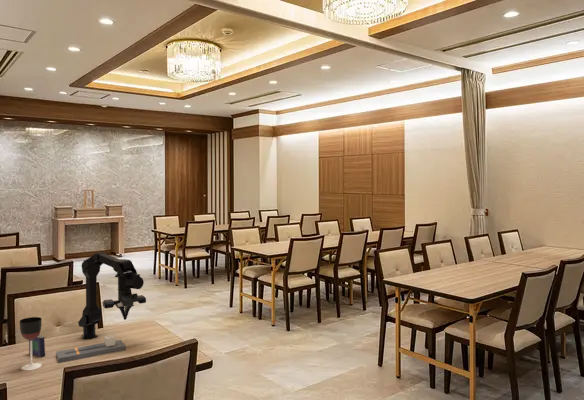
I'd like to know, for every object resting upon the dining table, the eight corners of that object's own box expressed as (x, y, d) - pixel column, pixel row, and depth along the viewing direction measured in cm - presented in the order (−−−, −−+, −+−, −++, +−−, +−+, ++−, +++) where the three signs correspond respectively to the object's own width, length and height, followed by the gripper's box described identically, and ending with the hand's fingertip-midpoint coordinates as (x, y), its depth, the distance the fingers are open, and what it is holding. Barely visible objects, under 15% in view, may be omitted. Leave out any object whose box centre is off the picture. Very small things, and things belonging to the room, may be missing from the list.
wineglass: (26, 372, 186) (25, 324, 185) (17, 367, 191) (15, 320, 191) (46, 366, 192) (45, 319, 192) (36, 361, 198) (35, 316, 197)
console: (56, 355, 204) (56, 351, 204) (120, 343, 219) (120, 339, 219) (58, 363, 196) (58, 358, 195) (125, 349, 211) (125, 345, 211)
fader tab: (104, 344, 212) (104, 336, 212) (113, 342, 215) (113, 334, 214) (106, 346, 209) (106, 339, 209) (115, 345, 211) (115, 337, 211)
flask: (27, 354, 206) (27, 331, 206) (33, 352, 208) (33, 329, 208) (41, 357, 202) (41, 334, 202) (47, 355, 205) (47, 332, 204)
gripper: (107, 292, 203) (107, 327, 203) (149, 287, 213) (149, 320, 213) (102, 288, 212) (102, 321, 213) (142, 283, 222) (143, 314, 223)
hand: (125, 319), depth 215 cm, fingers closed
